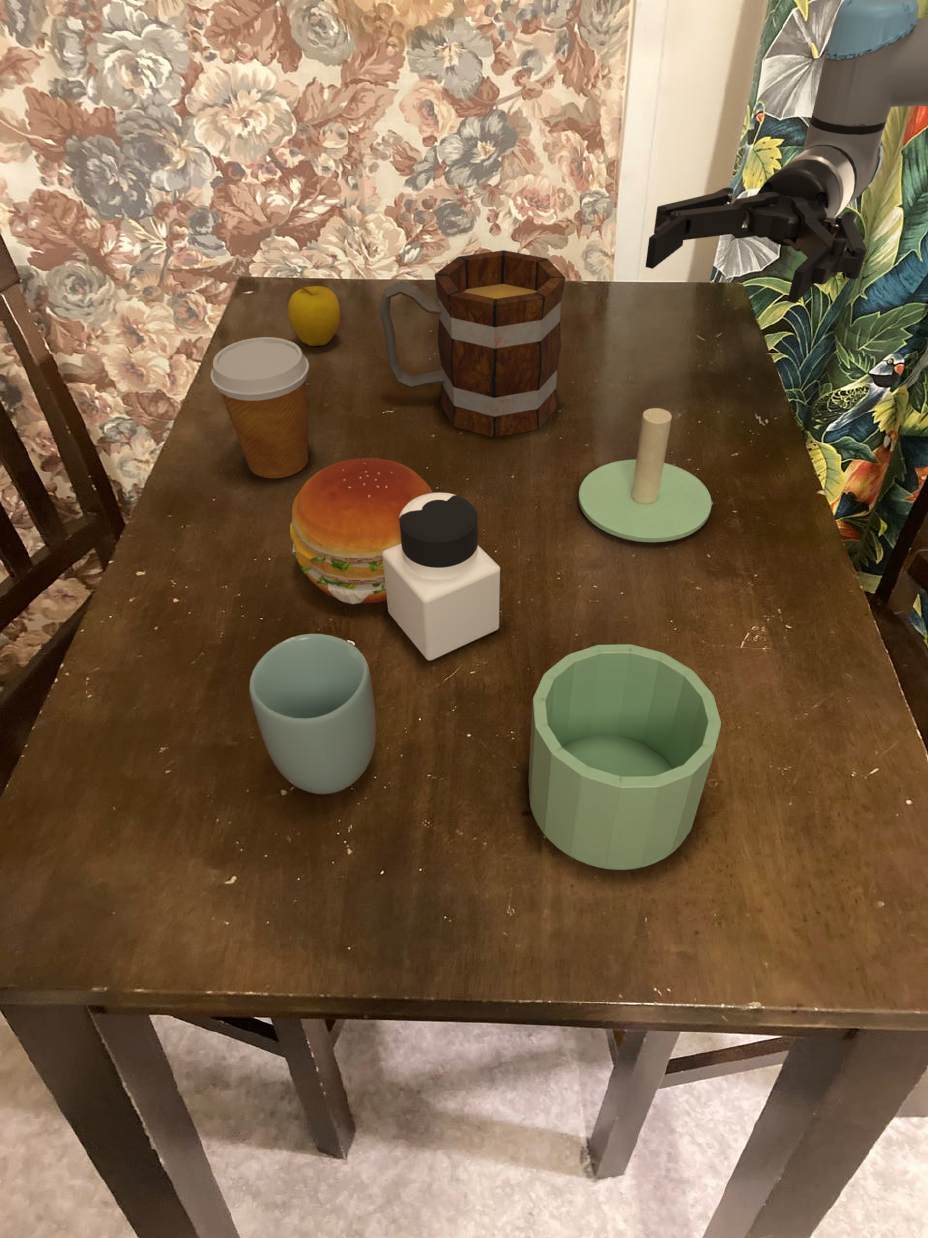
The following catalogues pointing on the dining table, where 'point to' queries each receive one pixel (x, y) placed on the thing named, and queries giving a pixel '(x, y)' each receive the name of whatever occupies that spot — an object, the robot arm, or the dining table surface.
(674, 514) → the tin lid
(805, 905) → the dining table surface
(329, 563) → the burger
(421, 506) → the medicine bottle
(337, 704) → the cup
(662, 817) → the tin
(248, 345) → the disposable coffee cup
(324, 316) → the apple
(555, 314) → the mug
